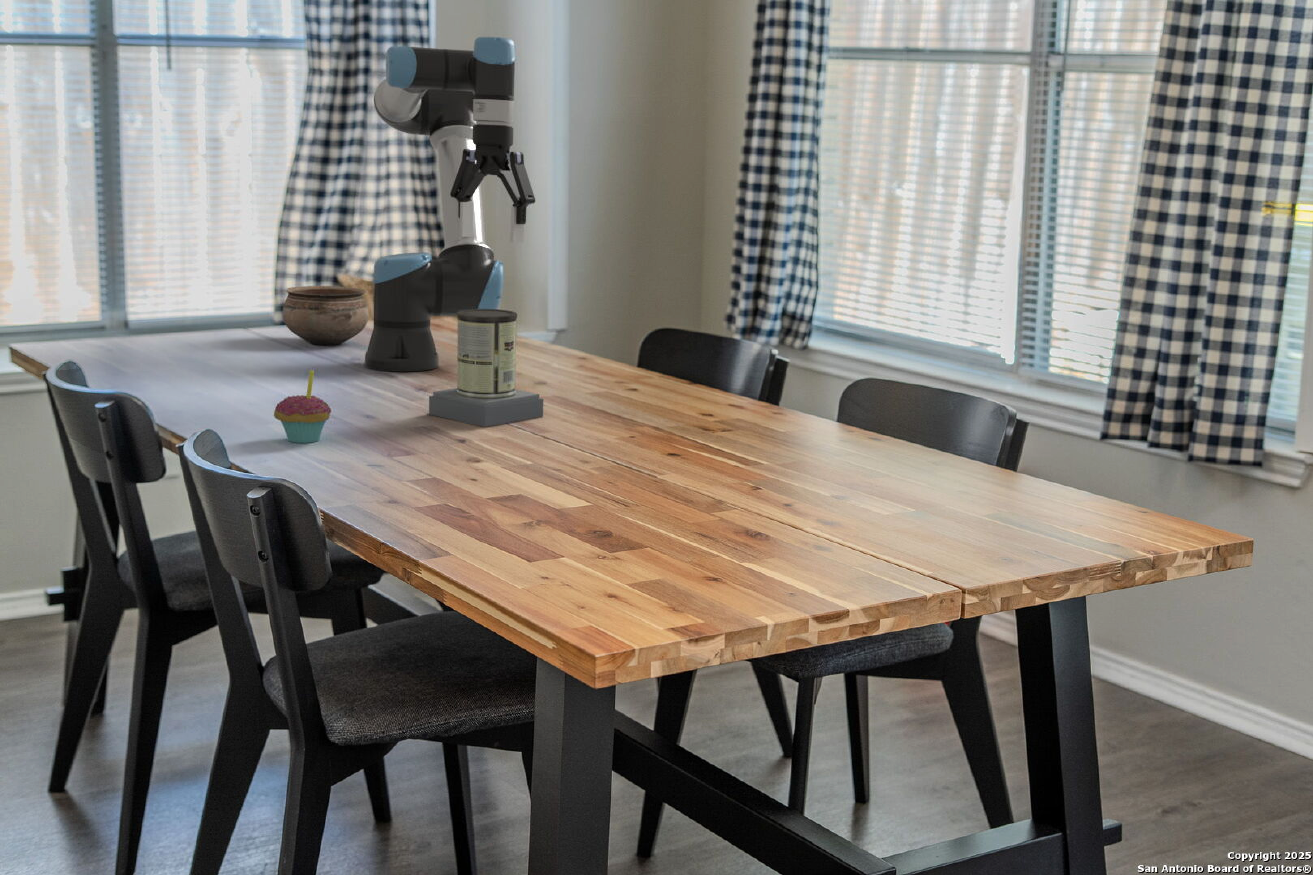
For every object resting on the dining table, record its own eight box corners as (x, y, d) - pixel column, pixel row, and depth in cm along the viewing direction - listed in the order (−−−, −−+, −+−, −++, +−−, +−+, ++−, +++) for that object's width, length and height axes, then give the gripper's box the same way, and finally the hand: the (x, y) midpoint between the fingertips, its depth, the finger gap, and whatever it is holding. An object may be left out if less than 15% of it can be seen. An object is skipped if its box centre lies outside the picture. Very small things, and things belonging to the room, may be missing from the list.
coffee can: (463, 385, 244) (464, 307, 241) (520, 389, 243) (522, 310, 240) (449, 396, 234) (450, 314, 230) (508, 400, 233) (510, 317, 230)
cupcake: (341, 438, 217) (340, 363, 214) (311, 448, 209) (310, 371, 206) (294, 432, 219) (293, 358, 217) (263, 442, 212) (261, 365, 209)
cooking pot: (388, 350, 305) (388, 295, 303) (306, 354, 294) (306, 298, 292) (343, 334, 325) (343, 283, 322) (265, 338, 314) (264, 285, 312)
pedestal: (428, 414, 238) (429, 391, 237) (487, 404, 249) (487, 382, 248) (485, 427, 229) (485, 403, 228) (542, 416, 240) (543, 394, 239)
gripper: (432, 121, 258) (431, 234, 262) (527, 125, 243) (524, 245, 247) (461, 123, 263) (460, 233, 268) (556, 126, 248) (553, 244, 253)
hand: (491, 239), depth 258 cm, fingers open, 13 cm apart
